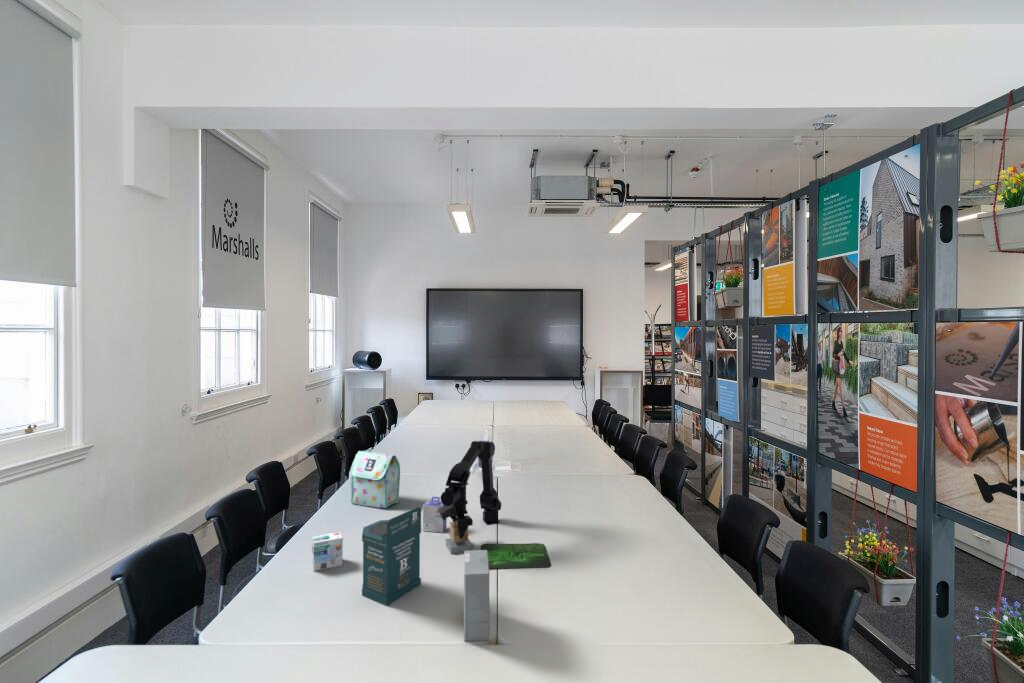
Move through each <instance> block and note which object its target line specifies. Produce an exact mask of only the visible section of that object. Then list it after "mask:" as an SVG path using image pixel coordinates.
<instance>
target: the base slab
mask: <svg viewBox="0 0 1024 683" xmlns="http://www.w3.org/2000/svg"><path fill="white" fill-rule="evenodd" d="M445 546H446V548H447V549H448V551H449V553H450V555H455V554H460V553H464V551H471V550H474V548H473V543H472V541H471V540H470V539H469V538H468V540H465V541H459V542H453V540H452V539H451V537H450V538H445Z"/></svg>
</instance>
